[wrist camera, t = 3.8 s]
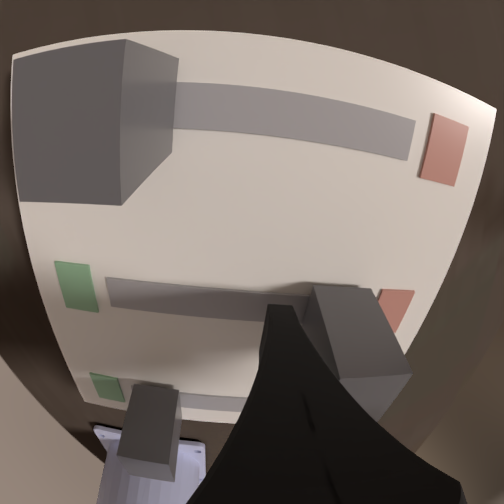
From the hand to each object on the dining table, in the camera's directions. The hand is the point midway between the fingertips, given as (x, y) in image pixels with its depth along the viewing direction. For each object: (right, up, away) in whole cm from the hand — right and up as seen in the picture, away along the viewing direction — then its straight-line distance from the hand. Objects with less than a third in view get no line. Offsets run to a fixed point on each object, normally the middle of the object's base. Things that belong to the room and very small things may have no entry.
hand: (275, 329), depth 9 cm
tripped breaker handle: (+2, 0, +1) cm, 2 cm away
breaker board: (-1, +1, +2) cm, 3 cm away
